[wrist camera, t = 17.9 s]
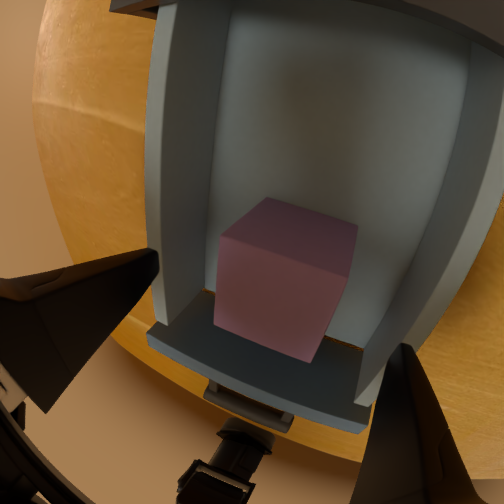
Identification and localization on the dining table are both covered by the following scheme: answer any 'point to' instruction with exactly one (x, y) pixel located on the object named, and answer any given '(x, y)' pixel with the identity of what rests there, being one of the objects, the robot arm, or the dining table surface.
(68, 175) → the dining table surface
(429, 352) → the dining table surface
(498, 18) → the cabinet
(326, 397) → the drawer
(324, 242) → the cube
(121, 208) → the dining table surface
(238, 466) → the robot arm
